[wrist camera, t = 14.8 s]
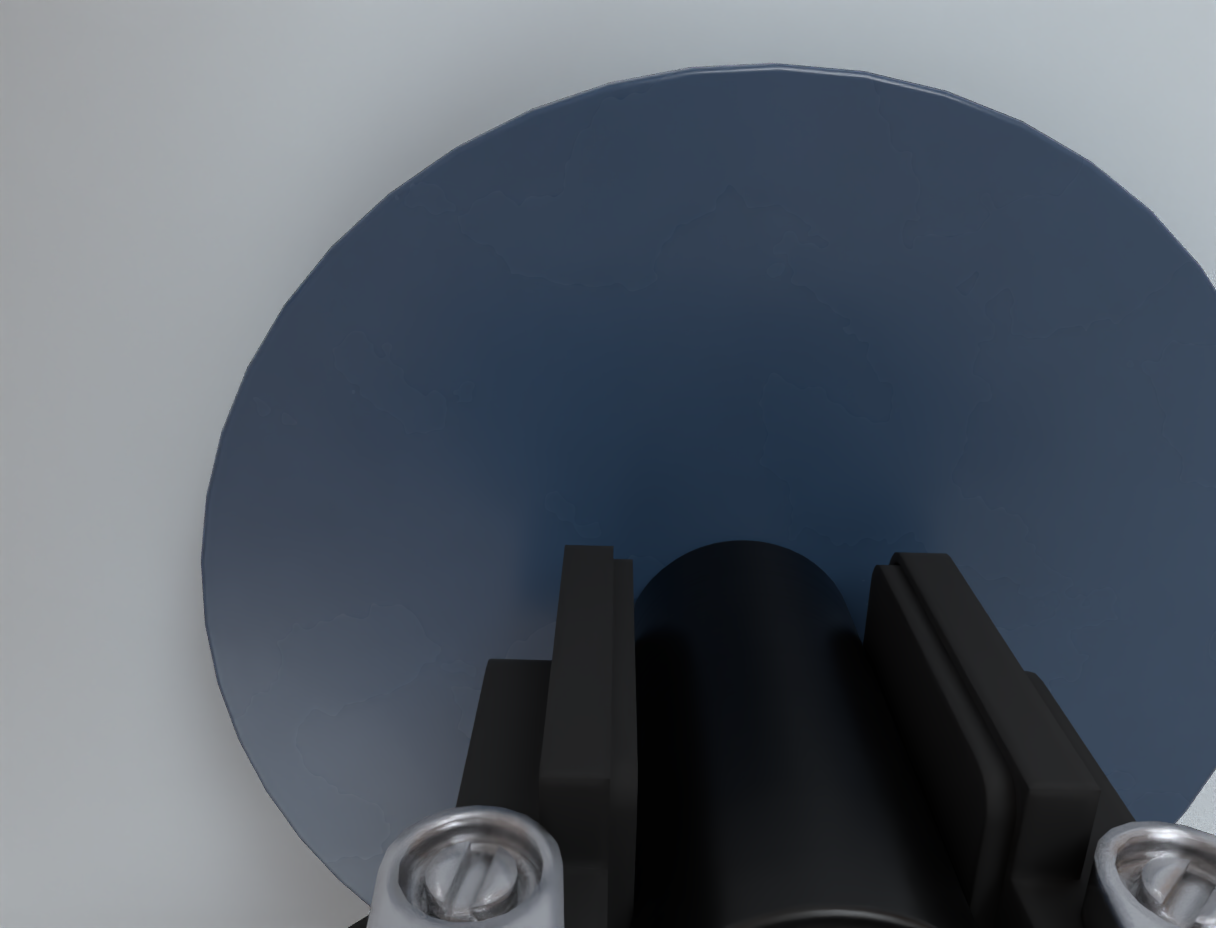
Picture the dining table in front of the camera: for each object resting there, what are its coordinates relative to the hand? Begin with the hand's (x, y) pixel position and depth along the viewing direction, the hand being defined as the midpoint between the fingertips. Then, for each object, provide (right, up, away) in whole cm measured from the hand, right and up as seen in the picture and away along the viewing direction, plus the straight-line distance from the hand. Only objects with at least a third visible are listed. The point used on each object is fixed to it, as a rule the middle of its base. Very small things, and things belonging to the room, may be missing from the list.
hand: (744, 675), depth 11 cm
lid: (0, +1, +1) cm, 1 cm away
